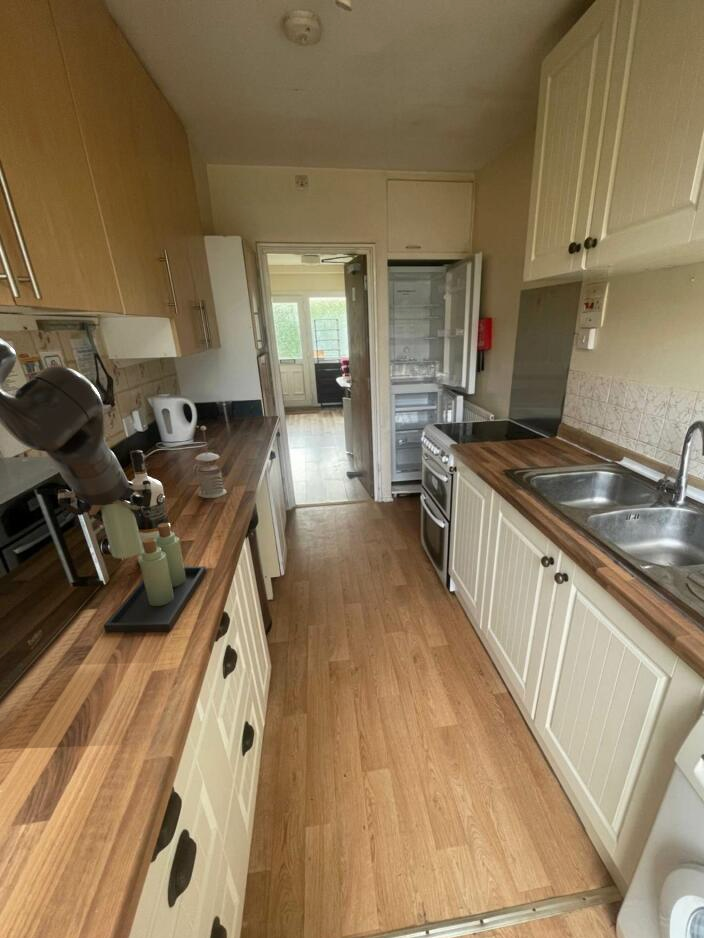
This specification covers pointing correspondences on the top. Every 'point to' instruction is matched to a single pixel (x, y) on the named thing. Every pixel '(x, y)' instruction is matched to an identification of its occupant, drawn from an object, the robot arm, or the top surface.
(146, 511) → the vodka
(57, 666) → the top surface
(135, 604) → the tray
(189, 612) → the top surface
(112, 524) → the bottle loose
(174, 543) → the bottle back
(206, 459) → the french press
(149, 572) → the bottle mid
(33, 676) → the top surface
